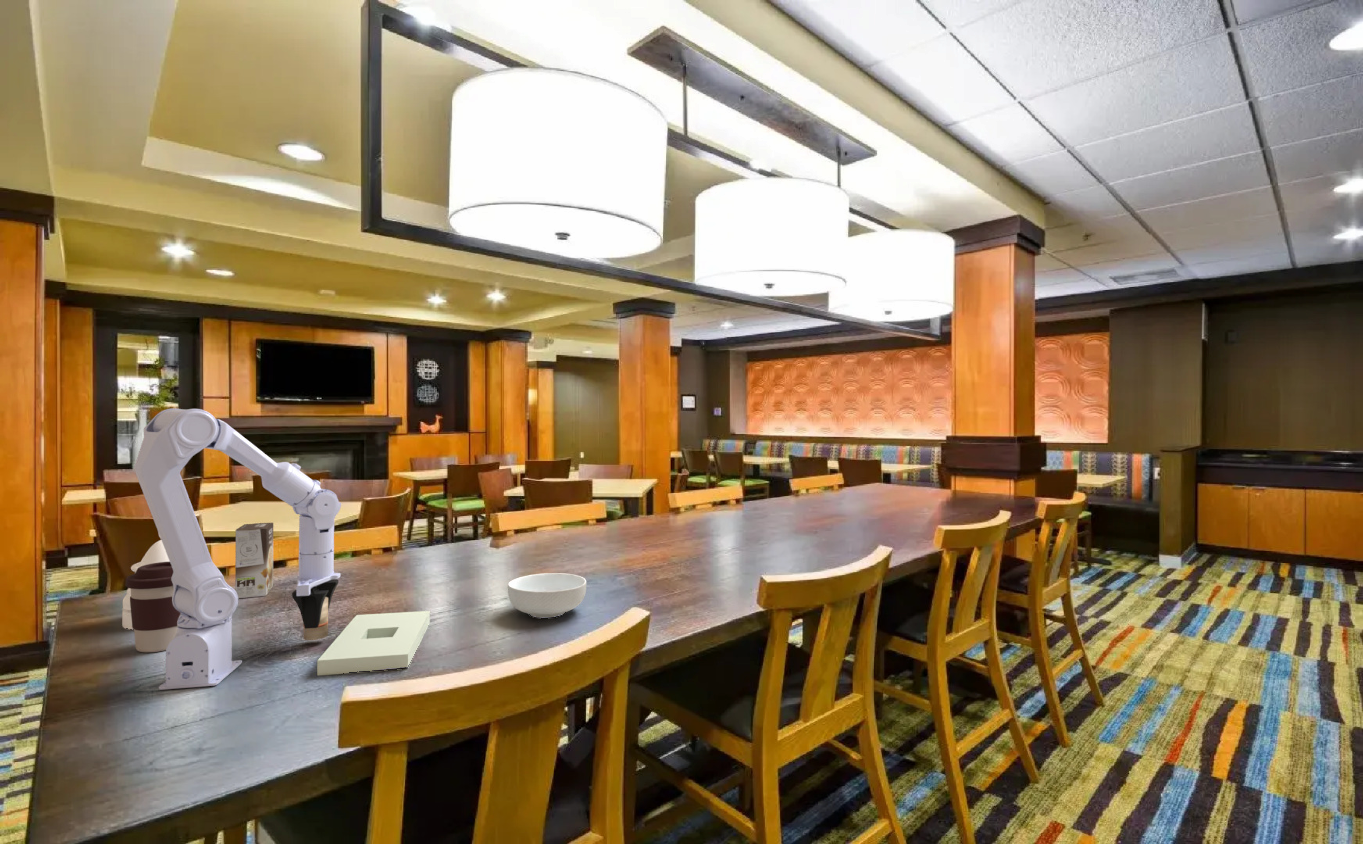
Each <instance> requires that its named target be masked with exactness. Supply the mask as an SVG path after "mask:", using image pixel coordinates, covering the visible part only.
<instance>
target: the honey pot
mask: <svg viewBox="0 0 1363 844" xmlns="http://www.w3.org/2000/svg"><path fill="white" fill-rule="evenodd" d="M157 533H158V537H159V538H160V540H158V541H156V542H155V543H153V544H152V545H151V546H150V547H149V548H148V550H147V551H146V552H145V554H144V555H143V557H142V559H141V561H139V562H137V563H134V564H132V565H131V566H130V569H131V571H132V572H134V574H135V573H136V571H137V569H138V568H139V567H141V566H144V565H148V564H152V563H159V562H170V561H169V558H168V556H167V553H166V550H165V548H164V545H163V543H162V540H161V537H160V535H159V532H158V531H157ZM130 597H131V588H128V587H127V589H126V595H124V597H123V599H122V611H121V612H122V616H121V617H122V623H121V624H122V625H121V627H122V628H123V629H126V628H128V629H127V630H130V629H132V631H134V630H133V628H132V618H131V607H130Z"/></svg>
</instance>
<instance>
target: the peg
mask: <svg viewBox="0 0 1363 844" xmlns="http://www.w3.org/2000/svg"><path fill="white" fill-rule="evenodd" d="M302 625H303V626H302V627H303V629H302V630H303V632H302V633H303V635H302V638H303V640H304V641H317V640H322V639H324V638H327V637H328V635H329V610H328V597H325V599H324V602H323V606H322V611H321V618H320V623H319V626H318V627H317V628H307V629H305V627H304V624H302Z"/></svg>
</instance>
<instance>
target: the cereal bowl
mask: <svg viewBox="0 0 1363 844" xmlns="http://www.w3.org/2000/svg"><path fill="white" fill-rule="evenodd" d="M587 584H588V583H587V580H586V578H585V577H583V576H580V575H578V574H572V573H564V572H559V573H558V572H553V573H552V572H546V573H536V574H535V573H534V574H529V575H524V576H523V575H522V576H520V577H517V578H514V579H512V580H511V581H509V582H508V583H507V594H508V599H509V602H510V603H511V604H512V606H513V607H514V608H515V609H516V610H518V611H520V612H522V613H525V614H528V615H529V614H530V615H532V616H536V617H554V616H558V615H561V614H564V613H565V612H566V613H567V612H570V611H571V610H575V608H577V607H578V606H579V605H580V604H581V603H582V602H583V600H584V599H585V596H586V592H587ZM566 613H565V614H566ZM565 614H564V615H565ZM530 615H529V616H530Z"/></svg>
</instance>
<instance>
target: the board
mask: <svg viewBox="0 0 1363 844" xmlns="http://www.w3.org/2000/svg"><path fill="white" fill-rule="evenodd" d="M430 623H431V611H430V610H423V611H422V610H421V611H406V612H404V611H403V612H388V613H386V612H385V613H369V614H368V613H367V614H356V615H355V616H354V617H353V618H352V620H351V621H350V622H349V623H348V624H347V625H346V627H345V628H344V629H343V630H342V631H341V632H340V633H339V634H338V636H337V637H336V638H335V639H334V640H333V642H331V644H330V645H329V646H328V647H327V649H326V650H325V651H324V653H322V654H321V656H320V657H319V658H318V659H317V661H316V663H317V665H316V666H317V669H316V672H317V674H316V675H317V676H329V675H341V674H343V673H344V674H350V673H349V672H357V671H358V672H357V673H360V672H359V671H370V672H373V671H372V670H380V669H386V668H400V667H408V665H409V664H410V665H411V663H412V661H413V659H414V657H415V655H414V654H416V653H415V652H417V651H416V650H418V649H417V648H419V647H418V646H420V644H421V642H422V640H423V637H424V636H425V634H426V632H427V630H428V627H429V626H428V625H430ZM413 656H414V657H413ZM412 658H413V659H412ZM411 660H412V661H411ZM410 662H411V663H410ZM410 665H409V666H410ZM408 668H409V667H408Z"/></svg>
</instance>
